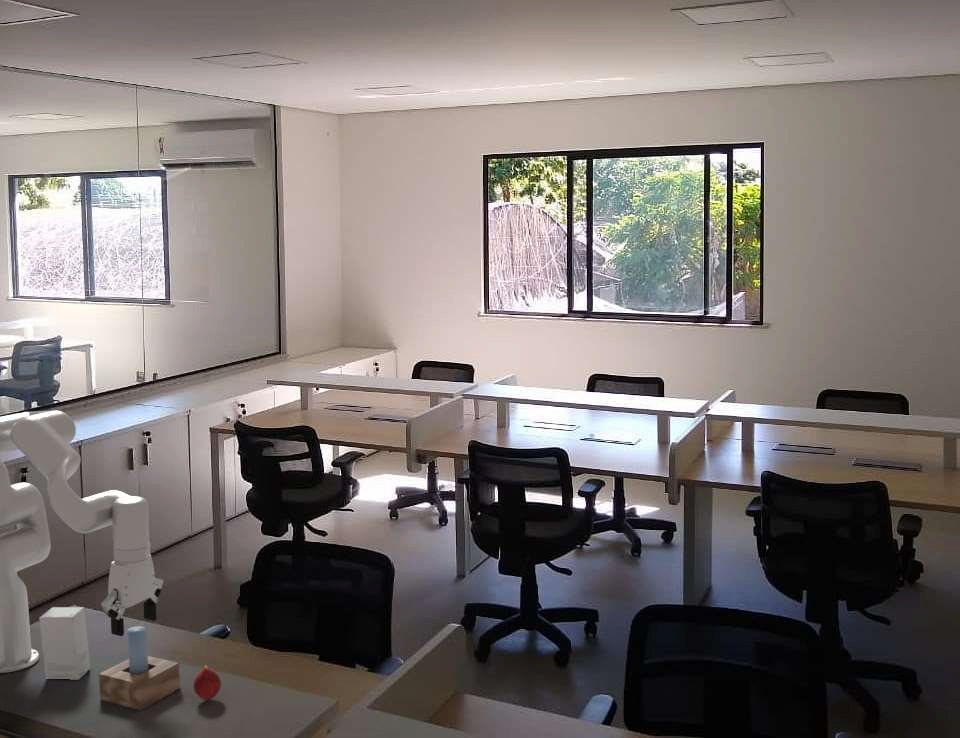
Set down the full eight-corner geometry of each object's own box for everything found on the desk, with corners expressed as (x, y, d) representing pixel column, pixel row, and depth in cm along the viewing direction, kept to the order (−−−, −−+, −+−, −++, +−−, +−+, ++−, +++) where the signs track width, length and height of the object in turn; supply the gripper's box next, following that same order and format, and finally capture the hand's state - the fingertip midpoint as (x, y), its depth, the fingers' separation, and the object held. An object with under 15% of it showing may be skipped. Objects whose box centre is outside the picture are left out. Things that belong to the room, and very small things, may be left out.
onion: (227, 697, 231) (225, 663, 230) (210, 708, 226) (208, 673, 225) (206, 692, 233) (204, 658, 232) (189, 703, 228) (187, 668, 227)
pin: (127, 691, 232) (122, 631, 230) (140, 684, 236) (136, 625, 234) (140, 694, 230) (136, 634, 228) (153, 687, 234) (149, 628, 232)
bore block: (100, 699, 230) (98, 673, 230) (140, 678, 241) (139, 653, 240) (140, 710, 225) (139, 683, 224) (180, 688, 236) (178, 662, 235)
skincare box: (91, 669, 246) (86, 606, 244) (77, 681, 240) (73, 617, 238) (57, 668, 247) (52, 605, 245) (43, 680, 241) (38, 616, 238)
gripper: (147, 539, 238) (150, 610, 241) (88, 561, 223) (91, 637, 225) (172, 544, 235) (174, 617, 237) (114, 567, 219) (117, 644, 222)
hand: (134, 626), depth 231 cm, fingers open, 9 cm apart
